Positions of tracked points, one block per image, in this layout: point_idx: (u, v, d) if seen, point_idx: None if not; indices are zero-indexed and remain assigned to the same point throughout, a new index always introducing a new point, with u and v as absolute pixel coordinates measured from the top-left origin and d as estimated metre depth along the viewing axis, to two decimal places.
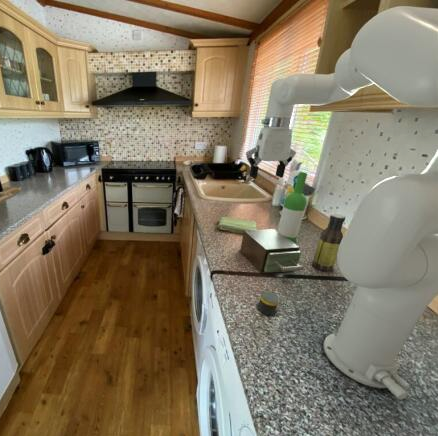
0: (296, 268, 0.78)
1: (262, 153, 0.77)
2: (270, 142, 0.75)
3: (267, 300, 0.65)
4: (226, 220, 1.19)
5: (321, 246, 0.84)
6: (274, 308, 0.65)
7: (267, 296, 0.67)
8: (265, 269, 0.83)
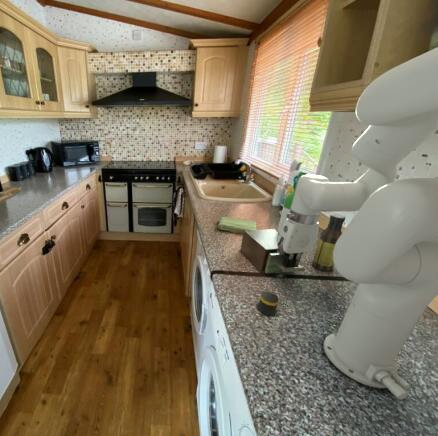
0: (297, 269, 0.77)
1: (287, 247, 0.73)
2: (296, 237, 0.72)
3: (267, 300, 0.65)
4: (226, 220, 1.19)
5: (321, 246, 0.84)
6: (274, 308, 0.65)
7: (267, 296, 0.67)
8: (266, 270, 0.82)
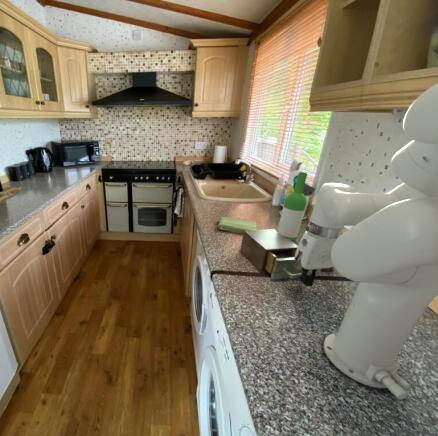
0: None
1: (306, 262, 0.66)
2: (316, 252, 0.65)
3: None
4: (226, 220, 1.19)
5: None
6: None
7: (282, 257, 0.82)
8: (272, 276, 0.79)
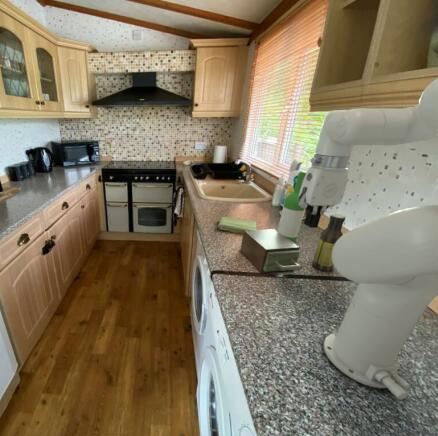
0: (295, 267, 0.78)
1: (311, 197, 0.64)
2: (322, 185, 0.62)
3: None
4: (226, 220, 1.19)
5: (321, 246, 0.84)
6: None
7: None
8: (264, 268, 0.83)
